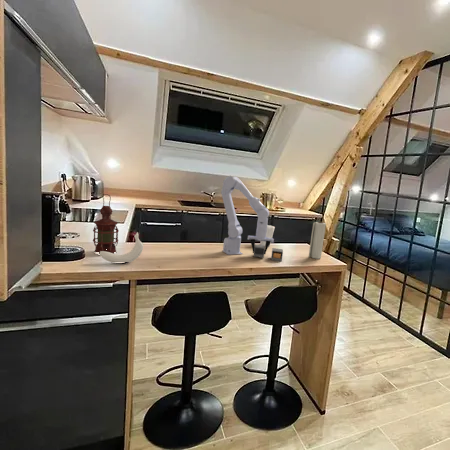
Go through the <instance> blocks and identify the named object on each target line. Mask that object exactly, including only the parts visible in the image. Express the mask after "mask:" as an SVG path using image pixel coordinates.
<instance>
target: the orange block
mask: <svg viewBox="0 0 450 450" xmlns="http://www.w3.org/2000/svg"><path fill="white" fill-rule="evenodd" d="M273 258H281V252H274V253H273Z"/></svg>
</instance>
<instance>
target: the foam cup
mask: <svg viewBox="0 0 450 450" xmlns="http://www.w3.org/2000/svg"><path fill="white" fill-rule="evenodd" d="M275 228H276V227H275V226H273V225H267V233H266V237H267V238H273V235H274V231H275ZM271 243H272V242H270V245H269V246H268V248H269V247H271ZM259 245H264V246H265V245H266V241H260V243H259Z"/></svg>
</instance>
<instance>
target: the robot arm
mask: <svg viewBox="0 0 450 450" xmlns="http://www.w3.org/2000/svg"><path fill="white" fill-rule="evenodd" d="M234 190H238V191H239V192H241V193H242V195H243V196H244V197H245V198H246V199H247V200H248V205H249V206H250V208H252V210H253V211H254V212H255V213H256V215H257V223H256V230H255V235H247V240H250V244H251V247H252V254H254V246H255V245H256V244H255V243H256V241H266V245H265V252H264V255H266V253H267V250H268V248H269V247H270V246H271V244H270V242H271V243H273V244H274V243H275V241H274V240H275V239H274V238H273V237H272V238H267V237H266V233H267V225H268V221H269V216H270V210H269V209H268V208H267V207H266V205H264V204H263V203H262V202H261V198H258V197H256V196H253V194H252V193H251V191H249V189H248V188H247V186H246V185H245V184H244V183H243V181H242V180H241V179H240V178H239V177H238V176H236V175H233V176H232V175H229V176H226V177H225V179H224V180H223V182H222V187H221V191H220V194H221V197H222V202H223V206H224V209H225V213H226V218H227V221H228V223H227V224H228V225H227V229H228V230H227V231H228V232H227V234H228V237H225V238H223V239H224V240H223V246H222V247H223V248H222V252H223V253H225V254H226V255H243V252H242V251H241V242H242V234H243V232H244V231H243V227H242V226H241V225H240V224H241V223H240V222H239V220H238V218H237V213H236V210H235V209H236V208H235V206H234V202H233V197H232V193H233V191H234ZM269 245H270V246H269ZM268 246H269V247H268Z"/></svg>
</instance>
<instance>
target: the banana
mask: <svg viewBox="0 0 450 450" xmlns="http://www.w3.org/2000/svg"><path fill="white" fill-rule="evenodd" d="M134 239H135V242H134V243H135V244H134V246H133V248H132V249H131V250H130V251H129V252H127V253H124V254H123V253H122V254H118V253H116V254H114V253H110V252H105V251H100V253H99V254H100V255H99V256H100V257H101V258H102V259H104V260H105V261H107V262H110V263H112V262H129V263H132V262H134V261H135V260H137V259H138V258H139V257H140V255H141V254H142V252H143V250H144V245H143V243H142V241H141V240H140V239H139V232H138V231H137V232H136V234H134Z"/></svg>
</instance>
